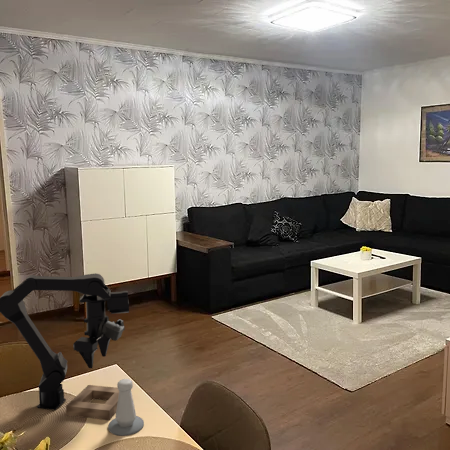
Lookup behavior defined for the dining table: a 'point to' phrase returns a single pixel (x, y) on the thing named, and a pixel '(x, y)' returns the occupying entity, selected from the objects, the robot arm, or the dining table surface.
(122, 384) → the salt shaker
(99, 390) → the walnut frame
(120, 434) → the slate coaster
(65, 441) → the dining table surface
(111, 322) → the robot arm
